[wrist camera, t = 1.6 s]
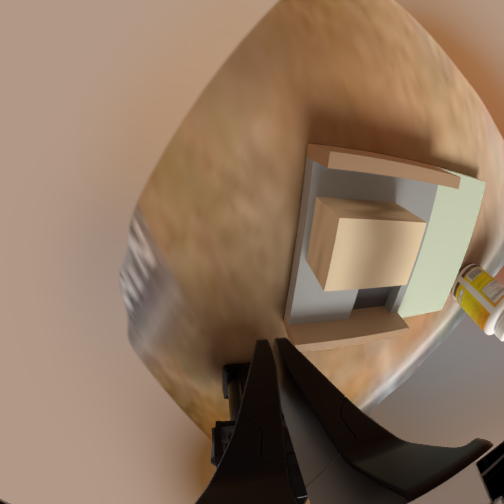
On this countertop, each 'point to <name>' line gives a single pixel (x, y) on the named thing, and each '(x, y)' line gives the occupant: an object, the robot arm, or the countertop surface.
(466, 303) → the supplement bottle
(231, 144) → the countertop surface
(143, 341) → the countertop surface
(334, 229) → the block
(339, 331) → the board
